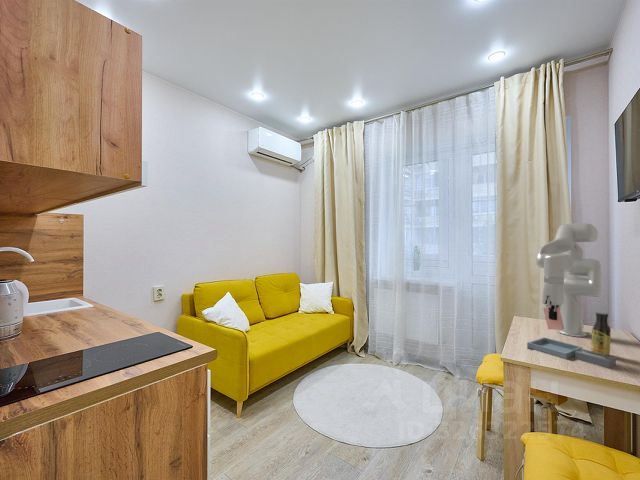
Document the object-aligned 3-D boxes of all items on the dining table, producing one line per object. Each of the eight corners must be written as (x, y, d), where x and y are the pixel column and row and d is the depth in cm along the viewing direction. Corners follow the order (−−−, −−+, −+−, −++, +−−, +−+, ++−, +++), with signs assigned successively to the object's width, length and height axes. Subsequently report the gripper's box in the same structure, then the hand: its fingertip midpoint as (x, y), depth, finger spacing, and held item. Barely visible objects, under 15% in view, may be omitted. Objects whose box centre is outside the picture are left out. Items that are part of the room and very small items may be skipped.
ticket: (549, 328, 141) (545, 307, 143) (564, 329, 136) (559, 307, 138) (548, 329, 141) (543, 307, 142) (562, 329, 135) (557, 307, 137)
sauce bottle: (587, 353, 137) (587, 310, 136) (599, 352, 137) (599, 310, 137) (602, 359, 130) (602, 314, 130) (614, 358, 131) (614, 314, 130)
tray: (543, 343, 150) (543, 337, 150) (582, 353, 136) (582, 347, 136) (527, 348, 143) (527, 342, 143) (565, 360, 129) (565, 353, 129)
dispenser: (582, 356, 133) (582, 348, 133) (615, 366, 123) (615, 356, 123) (574, 359, 129) (574, 351, 129) (608, 369, 120) (608, 360, 120)
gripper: (552, 278, 146) (552, 315, 146) (536, 280, 139) (536, 319, 139) (571, 280, 139) (571, 319, 139) (555, 283, 132) (555, 323, 132)
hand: (553, 319), depth 139 cm, fingers closed on ticket, 1 cm apart
